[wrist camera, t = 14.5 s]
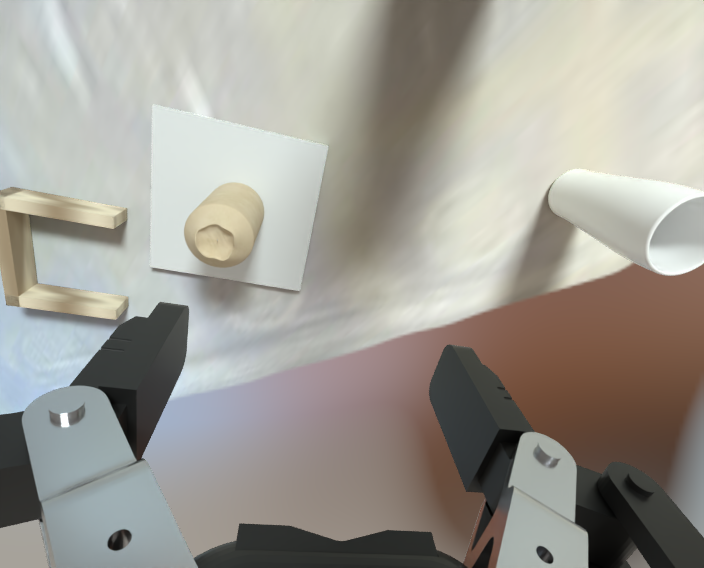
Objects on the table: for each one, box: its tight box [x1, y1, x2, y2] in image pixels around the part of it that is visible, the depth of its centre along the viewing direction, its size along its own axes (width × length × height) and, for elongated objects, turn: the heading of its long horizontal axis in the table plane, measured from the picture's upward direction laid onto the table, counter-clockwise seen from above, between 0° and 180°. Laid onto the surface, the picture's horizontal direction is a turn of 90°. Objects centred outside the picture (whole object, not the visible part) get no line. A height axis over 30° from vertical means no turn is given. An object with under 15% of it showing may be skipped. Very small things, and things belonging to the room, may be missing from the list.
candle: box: [184, 182, 264, 268], centre depth 34 cm, size 6×6×10 cm
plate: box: [150, 105, 329, 291], centre depth 39 cm, size 16×16×1 cm
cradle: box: [0, 187, 128, 320], centre depth 39 cm, size 10×11×3 cm
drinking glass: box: [548, 169, 704, 276], centre depth 36 cm, size 7×7×15 cm
